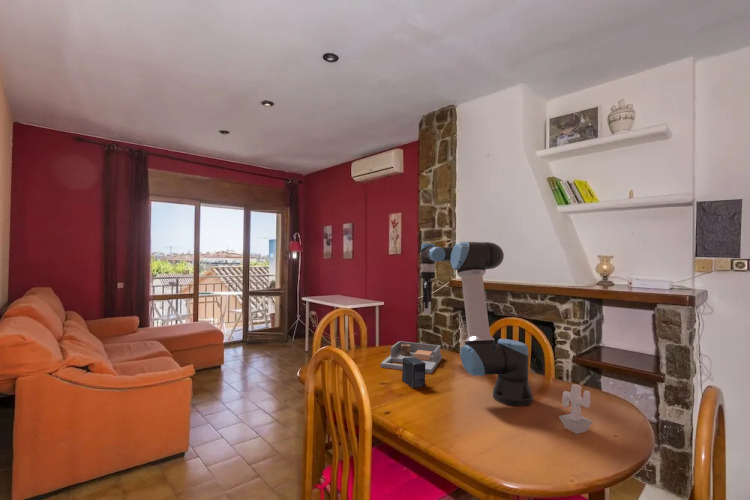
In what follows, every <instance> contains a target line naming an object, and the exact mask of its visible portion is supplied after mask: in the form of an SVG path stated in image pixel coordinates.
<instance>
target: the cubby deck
mask: <svg viewBox="0 0 750 500" xmlns="http://www.w3.org/2000/svg"><path fill="white" fill-rule="evenodd" d="M401 344H410V356H408V355H401ZM418 350H424V351H433V357H432V358H431V359H430V361H425V360H421V361H423V362H424V363H426V364H425V374H432V373H433V372H434V370H435V369H436V368H437V366H438V365H439V363H440V362H441V361H442V360H443V354H441V345H440V344H432V343H431V344H429V343H421V342H411V341H410V342H409V341H402V340H400V341H399V340H398V341H397V342H396V343H395V344H393V345H391V347H390V355H389V356H388V357H386V358H385V359H384V360H383V361H382V362H380V368H383V369H384V368H385V369H391V368H392V370H400V371H403V358H409V357H414V353H415V352H416V351H418ZM399 363H400V364H399Z"/></svg>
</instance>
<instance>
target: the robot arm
mask: <svg viewBox="0 0 750 500" xmlns="http://www.w3.org/2000/svg"><path fill="white" fill-rule="evenodd" d="M420 247H421V248H420V265H419V266H420V270H421V272H420V278H421V279H424V281H423V283H422V303H423V314H424V315H430V314H431V310H432V309H431V308H432V303H431V302H433V298H432V297H433V295H432V294H433V282H432V280H433V279H435V274H436V273H435V270H436V265H435V264H436V262H437V263H438V262H450V266H451V268H452V269H453V270H455V271H456V273H457V276H458V277H460V278H461V286H462V295H463V302H464V312H465V320H466V321H465V322H466V330H467V338H466V339H464V345H462V346H461V348H460V352H459V354H460V360H461V363H462V367H463V368H464V370H465V371H466V373H468V374H469V375H470V376H473V377H474V376H477V377H478V376H479V377H484V376H489V375H490V376H492V375H493V376H494V375H497V376H496V377H497V378H496V381H495V384H494V386H493V389H492V397H493V399H495V401H497V402H499V403H501V404H505V405H508V406H515V407H517V406H518V407H524V406H529V405H531V404H533V401H534V395H533V392H532V388H531V386H530V383H529V357H530V354H529V347H528V345H527V344H526V343H524V342H523V341H522V342H521V341H518V340H514V339H509V338H499V339H498V340H497V343H496V341H495V338H494V337H493V336H492V335H491V334H490V333H491V331H490V324H489V316H488V309H487V302H486V301H487V300H486V293H485V285H484V284H485V283H484V277H483V276H484V275H485V273H486V270H493V269H495V268H497V267H499V266H500V265H501V264H502V263H503V261H504V256H505V255H504V251H503V249H502V247H500V246H499V244H496V243H495V242H489V241H488V242H487V241H486V242H484V241H482V242H481V241H461V242H457V243H455V245H454V246H450V247H446V246H435V244H434V243H422V244H421V246H420Z"/></svg>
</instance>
